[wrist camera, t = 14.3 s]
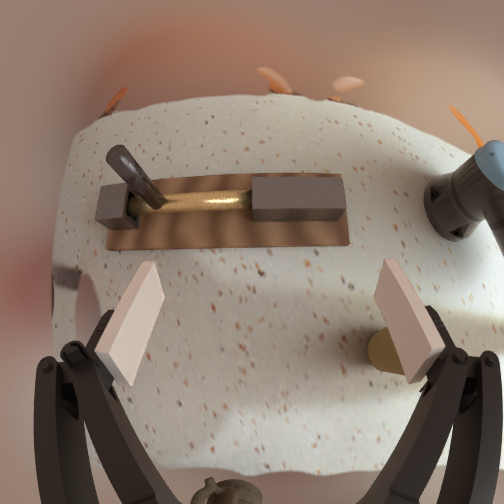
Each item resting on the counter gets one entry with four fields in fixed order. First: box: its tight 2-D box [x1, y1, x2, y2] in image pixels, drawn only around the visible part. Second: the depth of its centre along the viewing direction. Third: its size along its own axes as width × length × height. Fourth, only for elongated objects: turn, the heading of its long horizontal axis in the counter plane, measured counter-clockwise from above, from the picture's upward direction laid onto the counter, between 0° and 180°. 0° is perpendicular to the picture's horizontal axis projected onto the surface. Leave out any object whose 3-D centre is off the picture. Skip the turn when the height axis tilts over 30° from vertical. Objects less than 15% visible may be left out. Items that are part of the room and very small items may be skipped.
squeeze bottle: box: [367, 327, 405, 375], centre depth 35 cm, size 8×8×18 cm
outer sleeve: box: [252, 177, 347, 222], centre depth 45 cm, size 15×6×6 cm, turn 91°
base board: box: [107, 173, 350, 251], centre depth 50 cm, size 46×14×2 cm, turn 91°
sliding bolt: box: [106, 145, 252, 216], centre depth 38 cm, size 27×3×19 cm, turn 91°
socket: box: [95, 183, 140, 231], centre depth 46 cm, size 6×7×7 cm
